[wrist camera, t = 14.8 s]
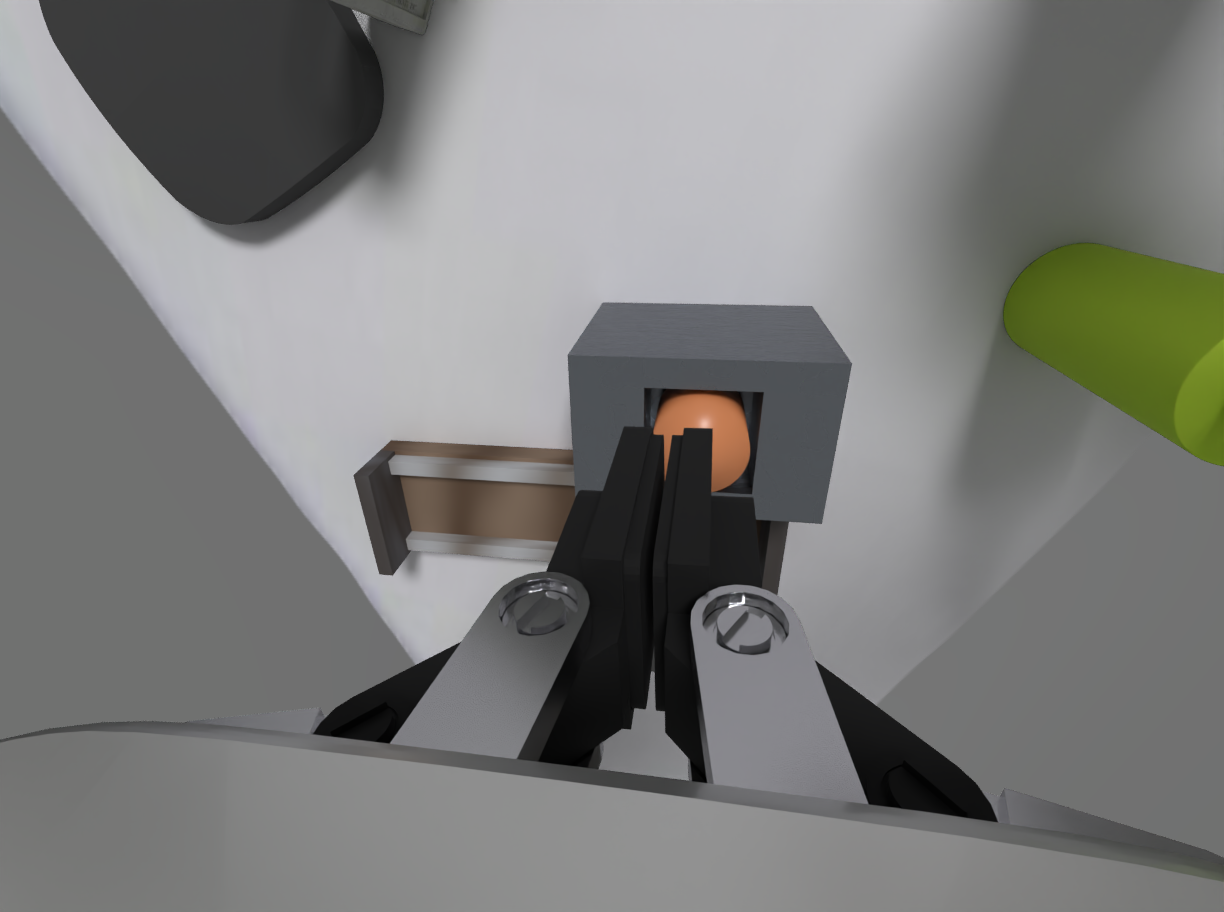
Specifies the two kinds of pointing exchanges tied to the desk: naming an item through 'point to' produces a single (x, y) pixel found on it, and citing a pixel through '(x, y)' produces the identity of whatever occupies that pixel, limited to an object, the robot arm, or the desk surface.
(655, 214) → the desk surface
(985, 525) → the desk surface
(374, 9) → the geiger counter
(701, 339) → the cabinet
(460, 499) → the rail
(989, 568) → the desk surface
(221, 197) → the media streaming box
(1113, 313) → the soap dispenser
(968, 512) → the desk surface
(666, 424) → the button
